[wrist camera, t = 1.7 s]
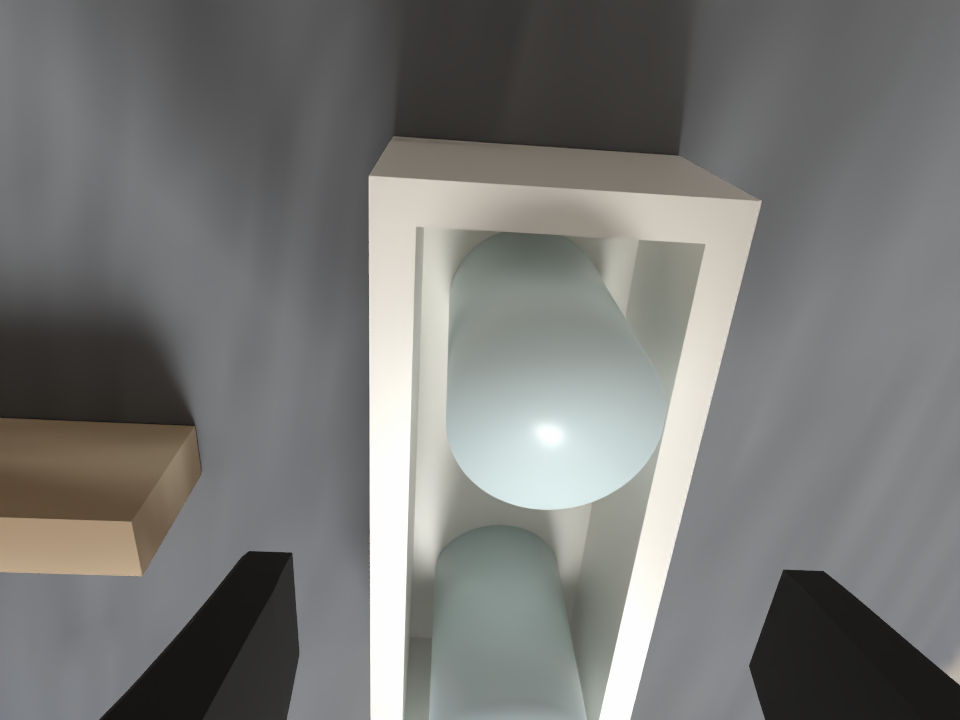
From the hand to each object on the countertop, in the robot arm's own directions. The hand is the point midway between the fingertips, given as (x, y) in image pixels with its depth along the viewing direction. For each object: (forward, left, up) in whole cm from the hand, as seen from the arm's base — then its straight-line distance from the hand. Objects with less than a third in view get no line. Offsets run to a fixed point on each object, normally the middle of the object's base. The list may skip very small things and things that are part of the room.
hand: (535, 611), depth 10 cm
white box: (0, 0, -5) cm, 5 cm away
